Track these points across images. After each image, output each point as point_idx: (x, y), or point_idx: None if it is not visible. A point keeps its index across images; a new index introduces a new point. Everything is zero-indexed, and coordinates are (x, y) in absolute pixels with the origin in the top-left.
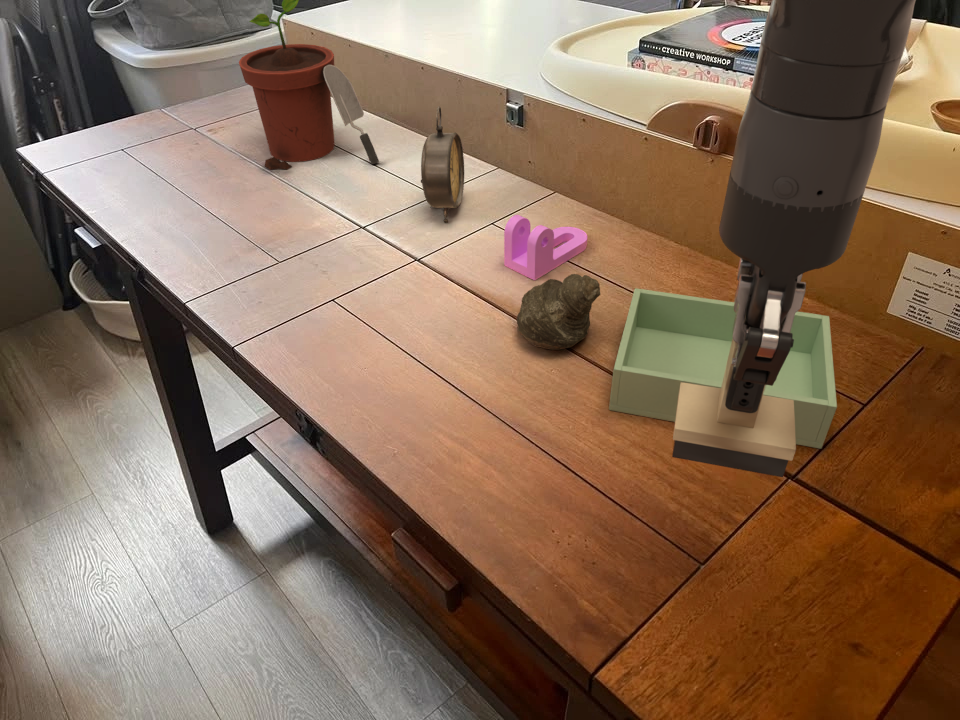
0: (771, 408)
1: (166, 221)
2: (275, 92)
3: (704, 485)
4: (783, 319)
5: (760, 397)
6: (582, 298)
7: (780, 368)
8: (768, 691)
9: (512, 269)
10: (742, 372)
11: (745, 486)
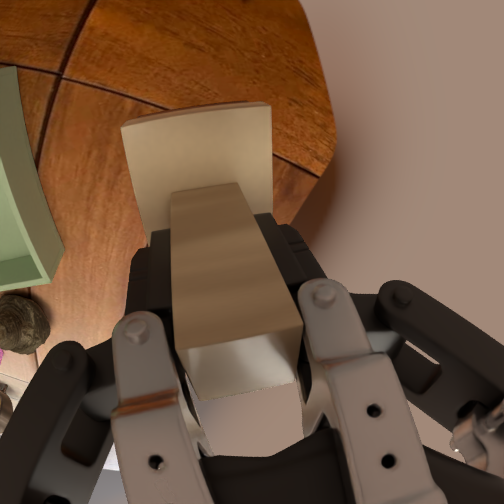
0: (165, 161)
1: (114, 446)
2: None
3: (104, 144)
4: (447, 460)
5: (282, 233)
6: (8, 331)
7: (488, 336)
8: (306, 62)
9: (1, 349)
10: (417, 355)
11: (88, 110)
